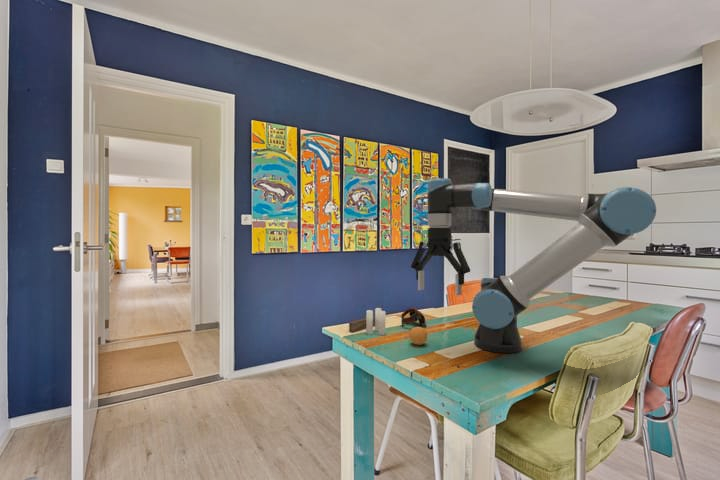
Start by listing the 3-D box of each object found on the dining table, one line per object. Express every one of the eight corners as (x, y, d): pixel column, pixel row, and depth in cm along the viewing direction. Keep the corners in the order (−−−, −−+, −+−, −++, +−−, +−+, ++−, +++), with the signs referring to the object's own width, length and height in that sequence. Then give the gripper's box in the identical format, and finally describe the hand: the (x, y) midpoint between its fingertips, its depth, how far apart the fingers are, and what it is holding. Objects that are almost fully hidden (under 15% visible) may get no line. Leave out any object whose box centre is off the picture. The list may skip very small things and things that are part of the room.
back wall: (375, 325, 146) (375, 317, 145) (352, 332, 136) (352, 323, 136) (371, 324, 147) (371, 316, 147) (349, 331, 137) (349, 322, 137)
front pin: (386, 334, 135) (386, 311, 134) (382, 335, 133) (382, 312, 132) (381, 332, 136) (381, 310, 136) (377, 334, 134) (377, 311, 134)
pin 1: (374, 333, 135) (374, 310, 135) (369, 334, 134) (370, 312, 133) (369, 332, 137) (369, 309, 137) (364, 333, 135) (365, 310, 135)
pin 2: (382, 330, 139) (382, 308, 139) (378, 331, 137) (378, 309, 137) (377, 329, 141) (378, 307, 140) (373, 330, 139) (373, 308, 139)
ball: (430, 344, 124) (430, 327, 124) (420, 348, 119) (421, 330, 119) (415, 340, 128) (416, 323, 128) (405, 344, 123) (406, 327, 123)
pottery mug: (429, 330, 141) (420, 313, 139) (407, 339, 143) (398, 323, 141) (426, 315, 153) (418, 299, 151) (405, 324, 154) (397, 308, 152)
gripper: (481, 227, 112) (481, 295, 112) (413, 227, 128) (413, 286, 129) (470, 227, 106) (470, 299, 107) (401, 227, 123) (401, 289, 124)
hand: (439, 292), depth 118 cm, fingers open, 13 cm apart
